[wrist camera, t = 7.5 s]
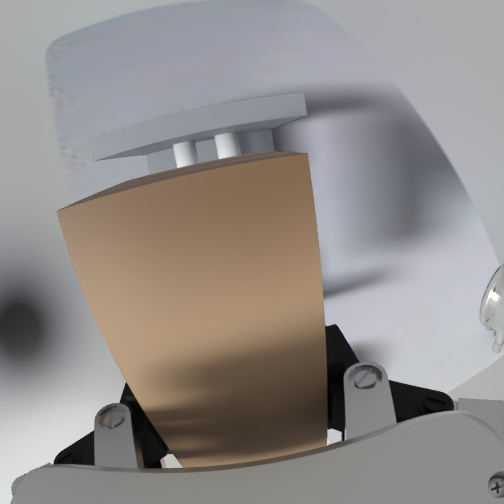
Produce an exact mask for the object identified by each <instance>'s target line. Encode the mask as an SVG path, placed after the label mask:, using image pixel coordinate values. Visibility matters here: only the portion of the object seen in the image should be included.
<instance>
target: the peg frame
mask: <svg viewBox="0 0 504 504" xmlns="http://www.w3.org/2000/svg"><path fill="white" fill-rule="evenodd" d="M304 116H307V109H306V103H305V98H304V93H295V94H285V95H276V96H268V97H260V98H253V99H246V100H240V101H234V102H228V103H222V104H217V105H212V106H206V107H202V108H197V109H192V110H188V111H183V112H179V113H175V114H171V115H167V116H163V117H159V118H155V119H152V120H148V121H144V122H141V123H137V124H134V125H131V126H127V127H124V128H121V129H118V130H115V131H112V132H109V133H106V134H103V135H100V136H97V137H94V138H91V139H90V143H91V149H92V154H93V159H94V161H98V160H105V159H112V158H120V157H129V156H138V155H146V156H147V161H148V166H149V170H150V175H151V174H155V173H159V172H163V171H167V170H171V169H175V168H180V167H184V166H189V165H193V164H198V163H202V162H207V161H212V160H217V159H222V158H227V157H232V156H238V155H243V154H249V153H255V152H261V151H275V148H274V143H273V137H272V131H271V129H273V128H275V127H278V126H280V125H283V124H285V123H288V122H291V121H293V120H296V119H299V118H302V117H304Z"/></svg>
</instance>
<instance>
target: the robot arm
mask: <svg viewBox="0 0 504 504" xmlns="http://www.w3.org/2000/svg"><path fill="white" fill-rule="evenodd" d="M481 322H482V324H483V326H484V327H485V328H486V329H488V330H495V331H496V333H495V335H496V339H495V341H494V344H493V347H492V350H493V351H494V352H495V353H499V352H500V351H501V349H502V346H503V343H504V264H503V265H502V266H501V267H500V269H499V270H498V271H497V272H496V274H495V275H494V277H493V279H492V280H491V282H490V284H489V286H488V288H487V290H486V293H485V296H484V298H483V302H482V306H481ZM325 335H326V358H327V409H328V421H327V428H328V429H331V428H333V429H335V430H338V431H340V432H341V442H338V443H334V444H331V445H327V446H323V447H320V448H316V449H312V450H307V451H303V452H299V453H294V454H290V455H285V456H280V457H274V458H269V459H263V460H257V461H250V462H243V463H235V464H227V465H217V466H206V467H190V468H166V465H165V461H164V458H163V457H165V456H166V455H167V454H173V453H172V452H171V451H170V449H169V448H168V446H167V445H166V444H165V442H164V441H163V439H162V438H161V436H160V435H159V434H158V432H157V431H156V429H155V428H154V426H153V425H152V423H151V422H150V420H149V418H148V417H147V415H146V414H145V412H144V411H143V409H142V407H141V406H140V404H139V402H138V401H137V399H136V397H135V396H134V394H133V392H132V391H131V389H130V387H129V385H128V384H127V382H126V384H125V387H124V390H123V393H122V396H121V400H120V403H112V404H109V405H106V406H105V407H103V408H102V409H101V410H100V411H99V412H98V413H97V415H96V416H95V423H94V431H92V432H91V433H89V434H88V435H86V436H84V437H83V438H82V439H80V440H78V441H77V442H75V443H74V444H72V445H70V446H69V447H67V448H66V449H64V450H62V451H61V452H60V453H59V454H58V455H57V456H56V458H55V460H54V464H53V465H52V464H51V463H48V464H46V465H43V466H41V467H39V468H36V469H34V470H31V471H30V472H28V473H26V474H24V475H22V476H20V477H18V478H17V479H15V481H14V482H13V484H12V495H13V498H12V501H11V504H504V401H501V400H480V399H479V400H478V399H465V398H459V399H458V401H453V400H452V399H451V398H450V397H449V396H448V395H447V394H445V393H443V392H440V391H436V390H431V389H426V388H421V387H417V386H412V385H408V384H403V383H399V382H395V381H391V380H388V376H387V373H386V371H385V369H384V368H383V367H382V366H380V365H378V364H376V363H373V362H361V363H360V362H359V360H358V359H357V357H356V355H355V354H354V352H353V350H352V349H351V347H350V345H349V344H348V342H347V340H346V339H345V337H344V335H343V334H342V332H341V331H340V329H339V327H338V326H337V325H336V324H334V325H330V326H327V327H326V325H325Z"/></svg>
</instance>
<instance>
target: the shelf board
mask: <svg viewBox="0 0 504 504" xmlns="http://www.w3.org/2000/svg"><path fill="white" fill-rule="evenodd" d="M57 214H58V218H59V222H60V225H61V229H62V232H63V235H64V238H65V242H66V245H67V248H68V250H69V254H70V257H71V260H72V263H73V265H74V268H75V271H76V273H77V276H78V279H79V282H80V284H81V287H82V289H83V292H84V294H85V297H86V299H87V302H88V304H89V306H90V309H91V311H92V313H93V316H94V318H95V320H96V322H97V325H98V327H99V329H100V331H101V333H102V335H103V337H104V339H105V342H106V344H107V346H108V348H109V350H110V352H111V354H112V356H113V358H114V360H115V362H116V363H117V365H118V367H119V369H120V371H121V373H122V375H123V376H124V378H125V380H126V382H127V384H128V385H129V387H130V389H131V391H132V392H133V394H134V396H135V397H136V399H137V401H138V402H139V404H140V406H141V407H142V409H143V411H144V412H145V414H146V415H147V417H148V418H149V420H150V422H151V423H152V425H153V426H154V428H155V429H156V431H157V432H158V434H159V435H160V436H161V438H162V439H163V441H164V442H165V444H166V445H167V446H168V448H169V449H170V451H171V452H172V453H173V455H174V456H175V457H176V459H177V460H178V461H179V463H180V464H181V465H182V466H183V468H190V467H206V466H217V465H227V464H235V463H243V462H250V461H257V460H263V459H269V458H274V457H280V456H285V455H290V454H294V453H299V452H303V451H307V450H312V449H316V448H320V447H323V446H327V421H328V409H327V358H326V335H325V316H324V301H323V287H322V274H321V263H320V252H319V242H318V232H317V223H316V214H315V206H314V198H313V190H312V182H311V175H310V168H309V161H308V154H307V153H297V152H284V151H261V152H255V153H249V154H243V155H238V156H232V157H227V158H222V159H217V160H212V161H207V162H202V163H198V164H193V165H189V166H184V167H180V168H175V169H171V170H167V171H163V172H159V173H155V174H151V175H147V176H143V177H140V178H136V179H132V180H129V181H126V182H123V183H120V184H118V185H115V186H113V187H110V188H108V189H106V190H103V191H101V192H98V193H96V194H94V195H91V196H89V197H87V198H84V199H82V200H80V201H78V202H75V203H73V204H71V205H69V206H67V207H65V208H62V209H60V210H58V211H57Z"/></svg>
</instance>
